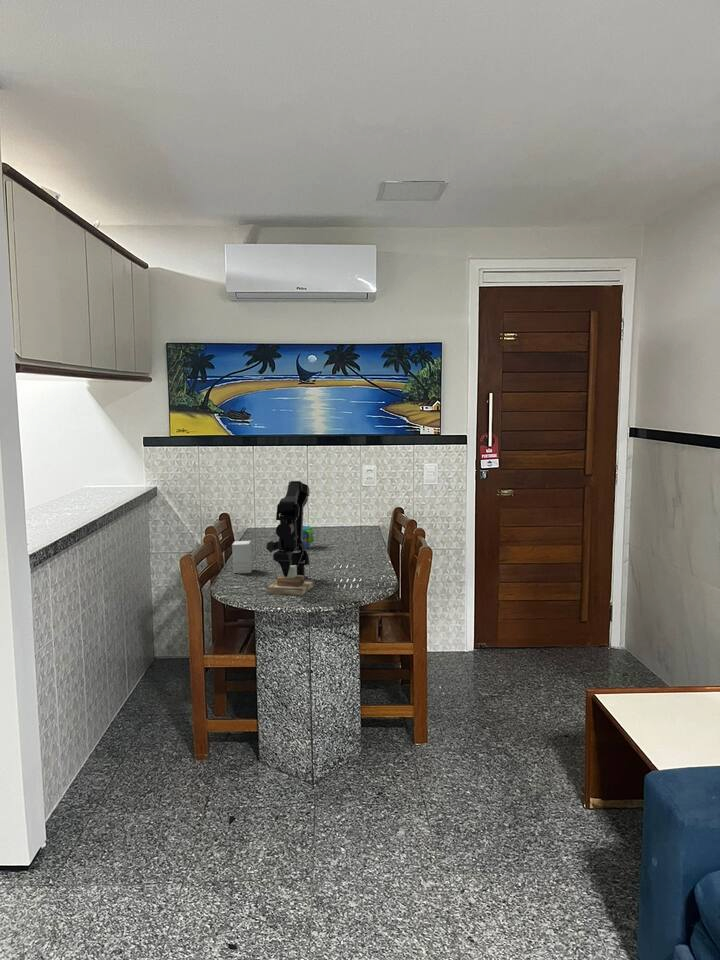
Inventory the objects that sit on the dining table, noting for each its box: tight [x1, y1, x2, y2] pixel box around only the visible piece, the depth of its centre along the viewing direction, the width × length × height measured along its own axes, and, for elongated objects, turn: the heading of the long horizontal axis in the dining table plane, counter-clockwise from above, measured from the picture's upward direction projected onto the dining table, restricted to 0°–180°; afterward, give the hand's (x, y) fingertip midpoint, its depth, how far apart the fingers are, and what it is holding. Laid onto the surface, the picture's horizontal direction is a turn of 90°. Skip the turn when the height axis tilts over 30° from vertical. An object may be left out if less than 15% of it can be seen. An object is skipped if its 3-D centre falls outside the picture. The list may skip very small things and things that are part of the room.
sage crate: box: [284, 565, 297, 578], centre depth 273 cm, size 4×4×4 cm
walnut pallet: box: [276, 573, 304, 587], centre depth 273 cm, size 6×9×3 cm, turn 74°
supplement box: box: [231, 540, 253, 574], centre depth 303 cm, size 7×7×13 cm
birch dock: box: [266, 579, 315, 596], centre depth 273 cm, size 14×14×2 cm
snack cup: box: [302, 525, 315, 550], centre depth 348 cm, size 16×10×10 cm
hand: (290, 573), depth 272 cm, fingers open, 9 cm apart
